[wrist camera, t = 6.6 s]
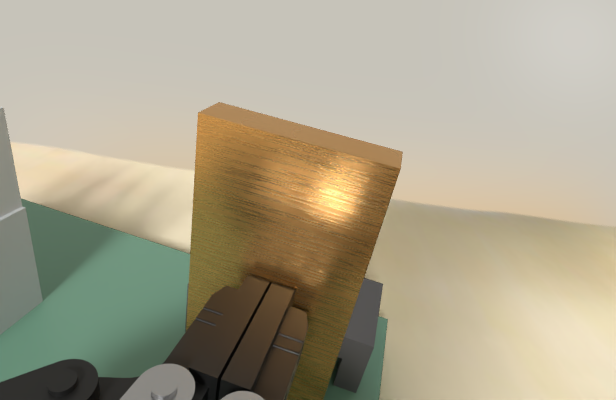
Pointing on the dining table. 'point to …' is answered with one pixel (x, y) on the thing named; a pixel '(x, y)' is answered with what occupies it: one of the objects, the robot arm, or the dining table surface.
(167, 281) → the heatsink board
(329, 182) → the upright wooden plank
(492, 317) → the dining table surface
